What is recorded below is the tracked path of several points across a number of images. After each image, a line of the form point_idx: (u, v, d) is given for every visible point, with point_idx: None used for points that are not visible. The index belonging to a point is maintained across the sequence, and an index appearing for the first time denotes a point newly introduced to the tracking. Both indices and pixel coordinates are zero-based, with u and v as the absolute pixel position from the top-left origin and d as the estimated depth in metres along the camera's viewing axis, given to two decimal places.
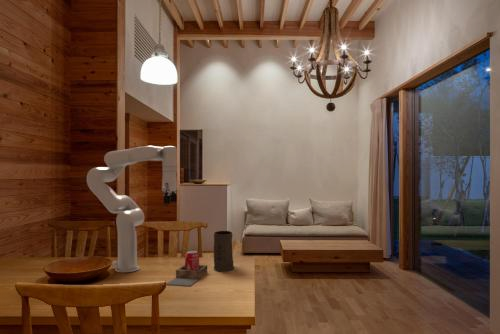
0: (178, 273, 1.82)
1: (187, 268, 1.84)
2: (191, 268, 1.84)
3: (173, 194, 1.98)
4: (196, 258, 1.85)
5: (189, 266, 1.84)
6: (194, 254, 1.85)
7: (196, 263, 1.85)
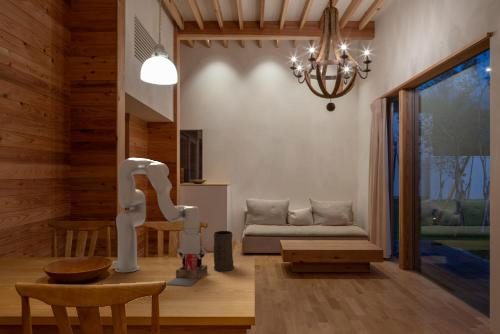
0: (178, 273, 1.82)
1: (187, 268, 1.84)
2: (191, 268, 1.83)
3: None
4: (196, 258, 1.85)
5: (189, 266, 1.84)
6: None
7: (196, 263, 1.85)
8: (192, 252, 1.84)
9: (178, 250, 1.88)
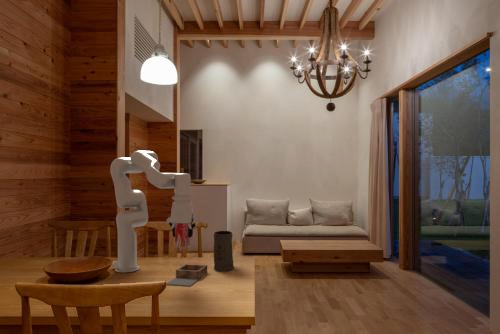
0: (178, 273, 1.82)
1: (177, 238, 1.73)
2: (181, 238, 1.72)
3: None
4: (187, 228, 1.74)
5: (179, 236, 1.72)
6: None
7: (187, 233, 1.74)
8: (183, 221, 1.73)
9: (168, 220, 1.77)
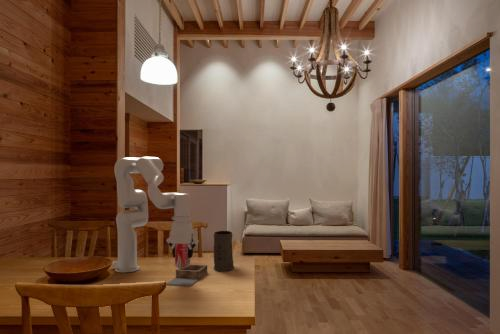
0: (178, 273, 1.82)
1: (177, 259, 1.72)
2: (181, 259, 1.72)
3: None
4: (187, 248, 1.73)
5: (179, 257, 1.72)
6: (185, 244, 1.73)
7: (187, 253, 1.73)
8: (182, 242, 1.72)
9: (168, 240, 1.76)
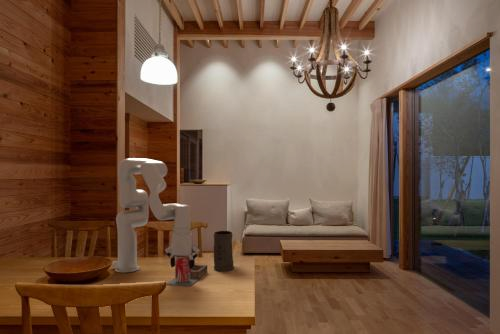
0: None
1: (177, 274, 1.72)
2: (182, 274, 1.72)
3: (173, 258, 1.77)
4: (187, 263, 1.73)
5: (179, 271, 1.72)
6: (185, 259, 1.73)
7: (187, 268, 1.73)
8: (182, 253, 1.72)
9: (166, 250, 1.77)
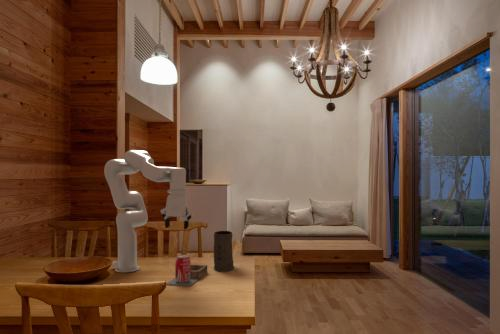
0: None
1: (178, 273, 1.72)
2: (182, 273, 1.72)
3: (168, 219, 1.82)
4: (187, 263, 1.73)
5: (179, 271, 1.72)
6: (185, 258, 1.73)
7: (187, 268, 1.73)
8: (177, 214, 1.77)
9: (162, 211, 1.82)
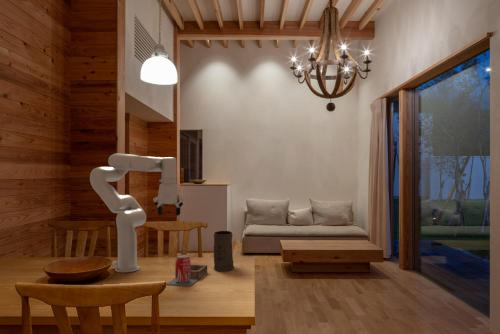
0: None
1: (178, 274, 1.72)
2: (182, 274, 1.72)
3: (160, 206, 1.90)
4: (187, 263, 1.73)
5: (179, 271, 1.72)
6: (185, 259, 1.73)
7: (187, 268, 1.73)
8: (169, 201, 1.86)
9: (154, 199, 1.90)
